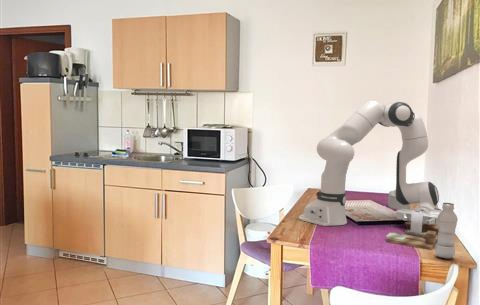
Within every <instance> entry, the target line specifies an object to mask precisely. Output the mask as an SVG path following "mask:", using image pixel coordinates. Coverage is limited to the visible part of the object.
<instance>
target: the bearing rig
mask: <svg viewBox="0 0 480 305" xmlns="http://www.w3.org/2000/svg"><path fill="white" fill-rule="evenodd" d="M385 239H386V240H385V241H386V243H391V244H397V245H402V246H406V247H407V246H408V247H413V248H418V249H424V250H430V251H433V249H434V248H435V246H436V243H437V231H434V230H429V229H428V230H427V232H422V233H417V232H411V231H410V230H405V233H403V232H396V231H393V232H389V233H388V234H387V235H386V236H385Z"/></svg>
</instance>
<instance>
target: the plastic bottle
mask: <svg viewBox="0 0 480 305" xmlns="http://www.w3.org/2000/svg"><path fill="white" fill-rule="evenodd" d="M441 208H442V209H441V210H442V211H441V212H440V213H439V215H438V225H437V236H436V239H437V243H436V245H435V246H434V254H435V256H436V257H438V258H441V259H446V260H447V259H448V260H450V259H453V258H454V257H455V254H456V248H455V247H456V246H455V236H456V235H455V233H456V229H457V225H458V220H459V219H458V216H457V214H456V212H454V210H455V204H454V203H452V202H442V207H441Z"/></svg>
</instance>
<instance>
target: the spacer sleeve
mask: <svg viewBox="0 0 480 305" xmlns="http://www.w3.org/2000/svg"><path fill="white" fill-rule="evenodd" d="M412 210H413V211H412V214H411V221H410V230H409V231H411V232H417V233H422V234H423V232H422V230H423V225H422V220H423V212H422V211H417V210H414V209H412Z"/></svg>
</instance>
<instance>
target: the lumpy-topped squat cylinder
mask: <svg viewBox="0 0 480 305" xmlns="http://www.w3.org/2000/svg"><path fill="white" fill-rule="evenodd" d="M395 192H396V189H394V190H390V191H389V192H388V195H387V207H388V208H389V209H393V210H399V209H409V210H410V204H408V205H402V204H401V203H399V202H398V201H397V200H396V196H395Z"/></svg>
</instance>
